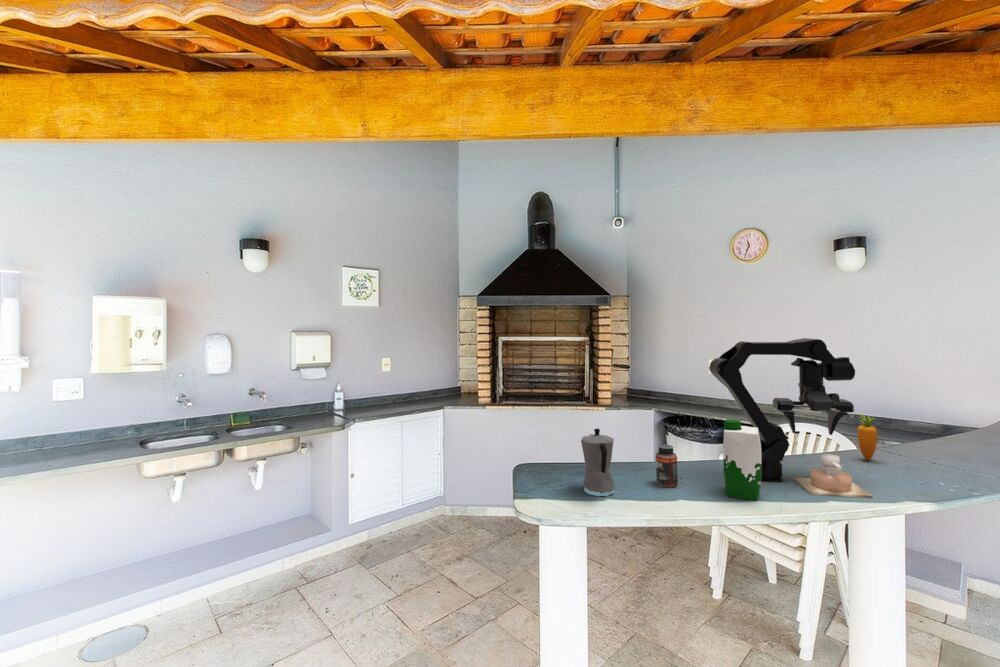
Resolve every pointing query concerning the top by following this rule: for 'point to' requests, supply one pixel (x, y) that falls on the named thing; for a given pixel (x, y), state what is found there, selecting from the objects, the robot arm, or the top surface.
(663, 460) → the supplement bottle
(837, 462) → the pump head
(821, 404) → the robot arm
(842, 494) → the birch board
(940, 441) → the top surface
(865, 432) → the carrot
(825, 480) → the soap jar
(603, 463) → the coffeepot
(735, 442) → the milk carton
